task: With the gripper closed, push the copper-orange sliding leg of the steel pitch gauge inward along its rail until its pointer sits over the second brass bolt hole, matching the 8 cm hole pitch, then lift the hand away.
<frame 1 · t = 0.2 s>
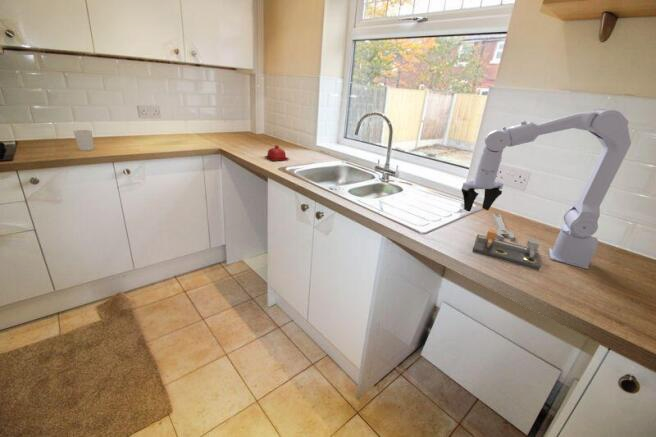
hand: (476, 209, 105), 10 cm above the worktop, tool pointing down, fingers open, 7 cm apart
white cup: (86, 149, 176), on the worktop
hole plate: (504, 252, 99), on the worktop
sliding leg: (490, 237, 100), point 3 cm above the worktop, slide at 3.5 cm
adjustable wrench: (501, 229, 118), on the worktop
butter dish: (276, 159, 190), on the worktop
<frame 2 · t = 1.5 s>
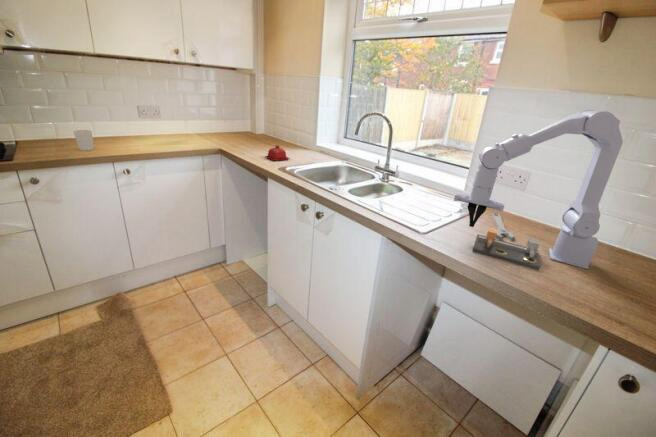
hand: (471, 225, 104), 5 cm above the worktop, tool pointing down, fingers closed
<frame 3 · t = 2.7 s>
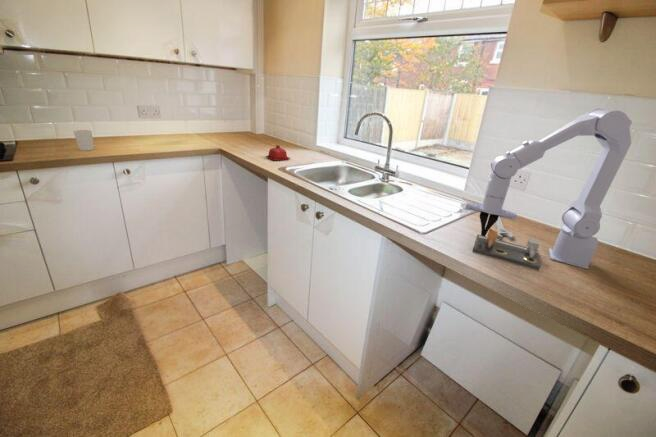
hand: (483, 234, 103), 3 cm above the worktop, tool pointing down, fingers closed
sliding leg: (491, 238, 100), point 4 cm above the worktop, slide at 3.3 cm, touching gripper
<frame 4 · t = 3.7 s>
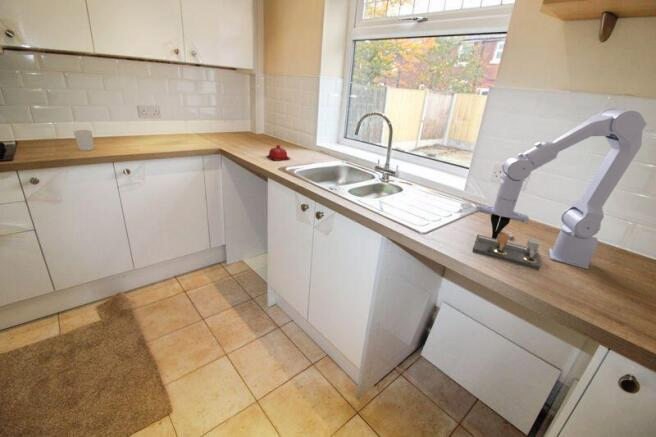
hand: (494, 237, 101), 3 cm above the worktop, tool pointing down, fingers closed
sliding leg: (502, 240, 99), point 3 cm above the worktop, slide at 0.1 cm, touching gripper
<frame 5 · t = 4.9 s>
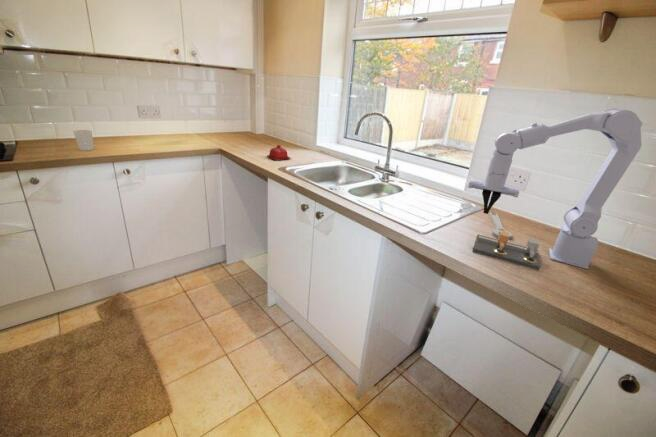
hand: (485, 212, 104), 9 cm above the worktop, tool pointing down, fingers closed
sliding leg: (502, 240, 99), point 3 cm above the worktop, slide at 0.1 cm
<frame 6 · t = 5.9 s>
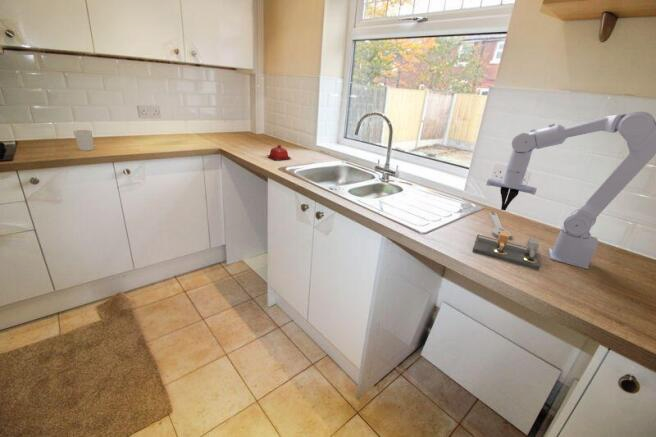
hand: (503, 209, 108), 9 cm above the worktop, tool pointing down, fingers closed
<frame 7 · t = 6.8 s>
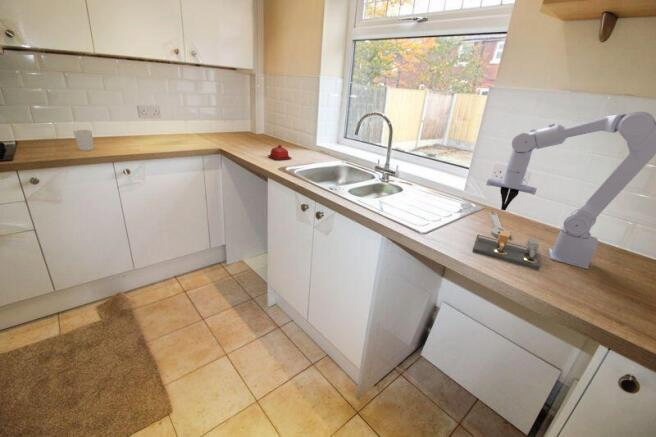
hand: (503, 209, 108), 9 cm above the worktop, tool pointing down, fingers closed
at the end: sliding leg slide at 0.1 cm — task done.
